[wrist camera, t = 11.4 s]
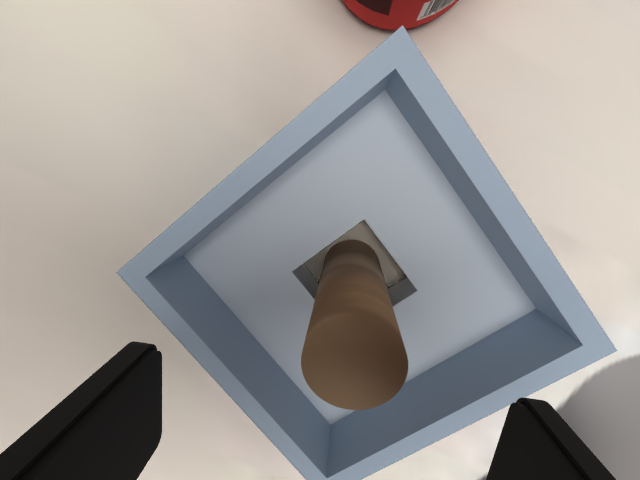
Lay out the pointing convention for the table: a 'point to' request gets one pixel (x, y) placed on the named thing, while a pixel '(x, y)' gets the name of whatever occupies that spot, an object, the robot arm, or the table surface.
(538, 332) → the slate box
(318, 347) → the walnut peg
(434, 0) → the canned food
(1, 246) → the table surface
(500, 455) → the robot arm
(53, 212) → the table surface
